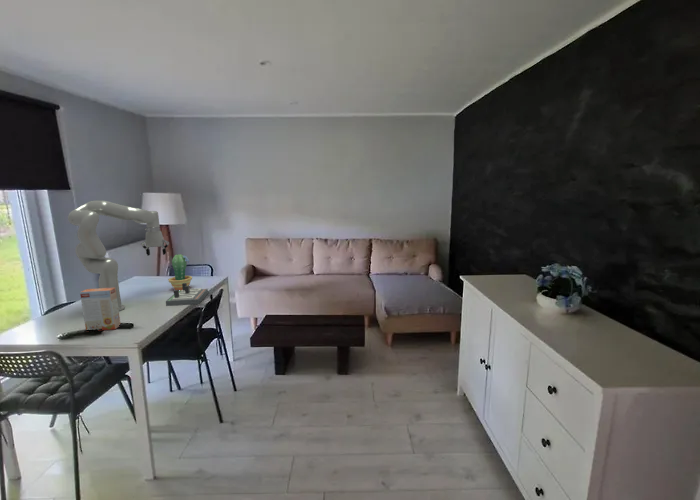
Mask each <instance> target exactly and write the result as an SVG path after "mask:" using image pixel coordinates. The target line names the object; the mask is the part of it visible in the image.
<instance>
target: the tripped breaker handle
mask: <svg viewBox="0 0 700 500" xmlns="http://www.w3.org/2000/svg"><path fill="white" fill-rule="evenodd" d="M190 289H191V288H190V285H189V286H185V293H189V292H190Z"/></svg>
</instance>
